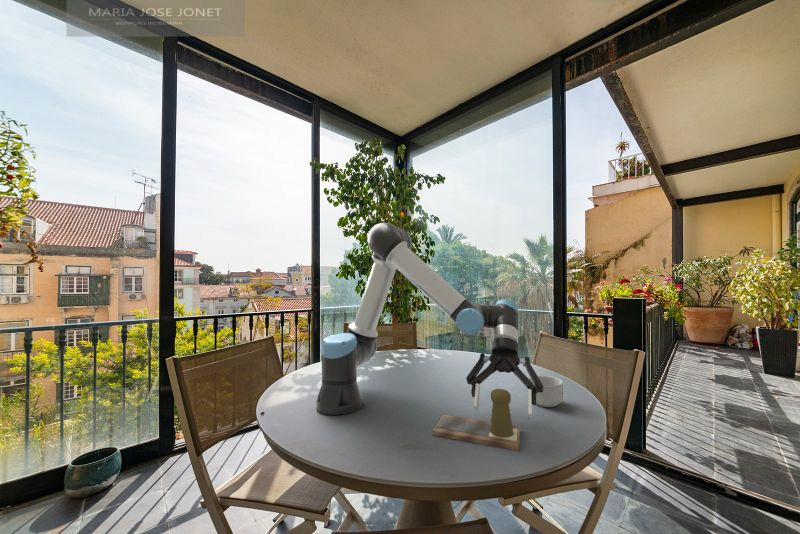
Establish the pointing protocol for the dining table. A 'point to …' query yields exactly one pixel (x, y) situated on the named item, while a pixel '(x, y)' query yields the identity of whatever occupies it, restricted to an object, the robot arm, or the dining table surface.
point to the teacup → (549, 391)
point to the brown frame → (474, 432)
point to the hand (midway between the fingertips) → (502, 412)
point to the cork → (501, 414)
